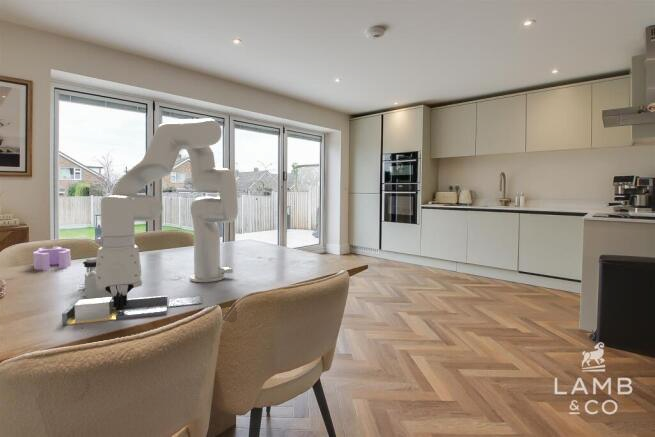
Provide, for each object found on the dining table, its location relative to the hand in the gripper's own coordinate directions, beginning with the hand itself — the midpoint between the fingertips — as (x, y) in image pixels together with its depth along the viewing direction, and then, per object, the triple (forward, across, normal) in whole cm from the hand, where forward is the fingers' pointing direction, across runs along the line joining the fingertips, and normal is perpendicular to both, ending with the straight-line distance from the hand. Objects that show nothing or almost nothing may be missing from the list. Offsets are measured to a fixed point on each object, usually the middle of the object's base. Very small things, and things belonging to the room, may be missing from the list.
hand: (120, 308), depth 94 cm
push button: (+2, -14, +33) cm, 36 cm away
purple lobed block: (+2, -37, +78) cm, 86 cm away
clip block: (+2, -6, 0) cm, 6 cm away
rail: (+2, 0, +1) cm, 2 cm away
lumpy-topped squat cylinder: (+2, -7, +21) cm, 22 cm away
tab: (+2, +16, +6) cm, 18 cm away
